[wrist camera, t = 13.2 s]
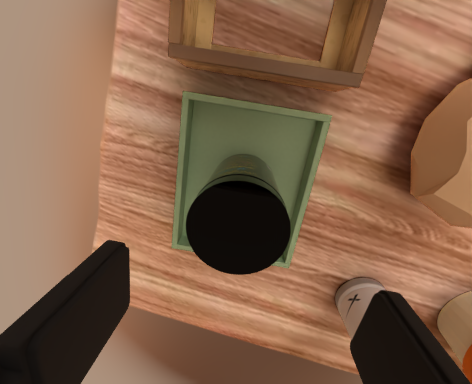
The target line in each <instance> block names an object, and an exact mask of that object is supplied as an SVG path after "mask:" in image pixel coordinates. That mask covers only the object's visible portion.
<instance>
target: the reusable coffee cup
mask: <svg viewBox="0 0 472 384" xmlns="http://www.w3.org/2000/svg"><path fill="white" fill-rule="evenodd" d="M437 325H438V329H439V331H440V332H441V334H442V335H443V337H444V338H445V340H446V341H447V343H448V344H449V346H450V347H451V349H452V350H453V351H454V353H455V354H456V356H457V357H458V359H459V360H460V362H461V363H462V367H463V372H464V374H465V376H466V377H467V379H468V380H469V381H470V383H471V384H472V291H469V292H466V293H463V294H461V295H459V296H457V297H455V298H453V299H452V300H451V301H449V302H448V303H447V304H446V305H445V306H444V307H443V308H442V310H441V311H440V313H439V316H438V319H437Z"/></svg>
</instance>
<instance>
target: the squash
mask: <svg viewBox="0 0 472 384" xmlns="http://www.w3.org/2000/svg"><path fill="white" fill-rule="evenodd" d="M410 194H412V195H414V197H415V198H416V199H418V200H419V201H420V202H422V203H423V204H424V205H425V206H427V207H428V208H429V209H430V210H432V211H433V212H434V213H435V214H437V215H438V216H439V217H440V218H442V219H443V220H444V221H445V222H447V223H448V224H449V225H450V226H458V227H466V228H472V78H470V79H468V80H466V81H464V82H462V83H459V84H458V85H457V86H456V87H455V88H454V89H453V90H452V91H451V92H450V93H449V94H448V95H447V96H446V97H445V98H444V100H443V101H442V102H441V103H440V104H439V105H438V106H437V107H436V108H435V109H434V110H433V111H432V112H431V113H430V114H429V116H428V117H427V118H426V119H425V120H424V123H423V125H422V128H421V130H420V132H419V135H418V137H417V140H416V142H415V144H414V147H413V149H412V152H411V192H410Z"/></svg>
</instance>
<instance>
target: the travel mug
mask: <svg viewBox="0 0 472 384" xmlns="http://www.w3.org/2000/svg"><path fill="white" fill-rule="evenodd" d="M380 290H386V289H385V288H384V286H383V285H382V284H381V283H379V282H378V281H376V280H373V279H370V278H356V279H353V280H350V281H348V282H346V283H344V284H343V285H342V286H341V287H340V288H339V289H338V291H337V293H336V296H335V303H336V306H337V308H338V311H339V313H340V315H341V318H342V320H343V322H344V324H345V327H346V329H347V331H348V334H349V336H350V338H351V340H352V338H353V336H354V334H355V332H356V330H357V328H358V326H359V324H360V322H361V320H362V318H363V316H364V314H365V312H366V310H367V307H368V305H369V303H370V301H371V299H372V297H373V295H374V294H375V293H378V292H379V291H380ZM386 291H387V290H386Z"/></svg>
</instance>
